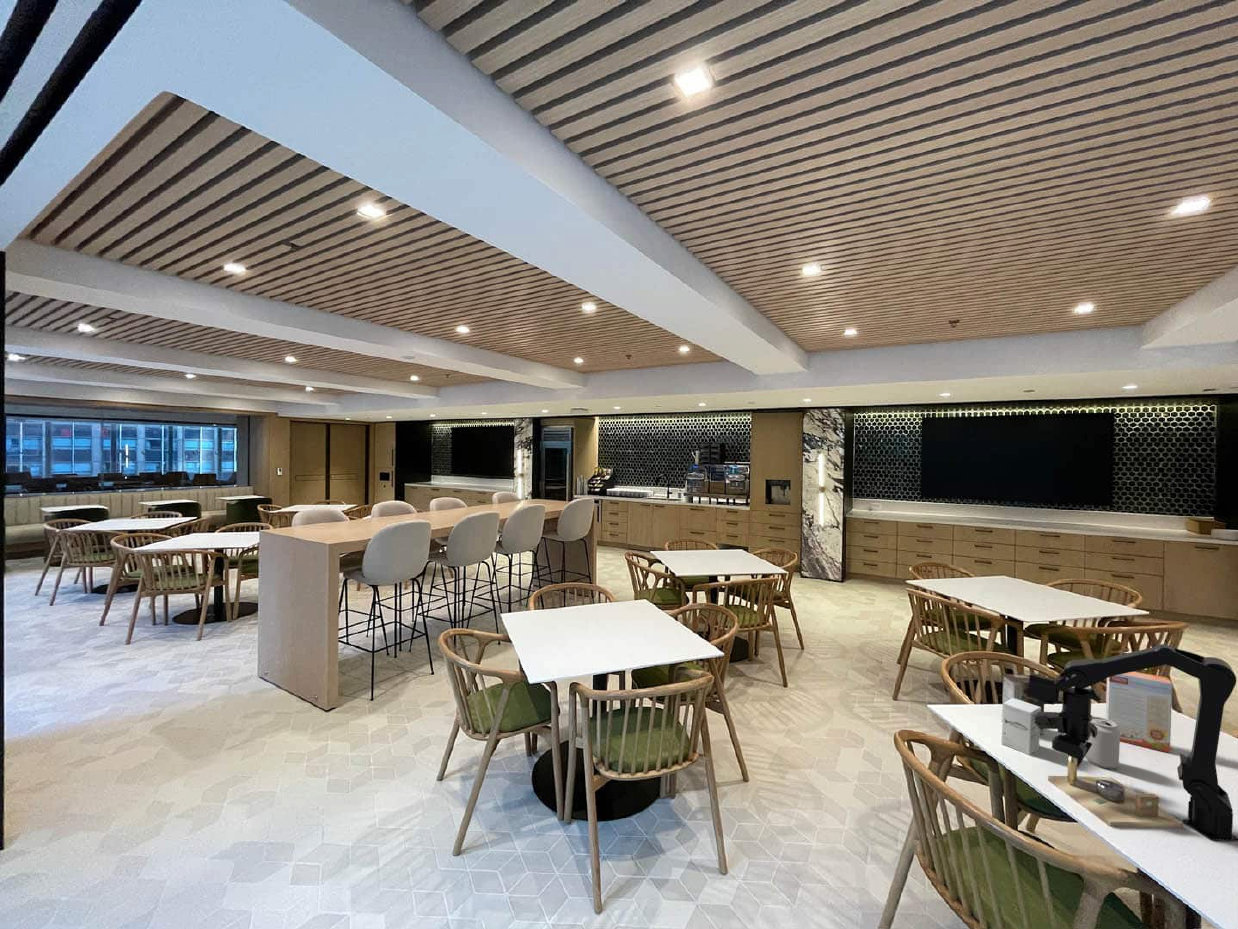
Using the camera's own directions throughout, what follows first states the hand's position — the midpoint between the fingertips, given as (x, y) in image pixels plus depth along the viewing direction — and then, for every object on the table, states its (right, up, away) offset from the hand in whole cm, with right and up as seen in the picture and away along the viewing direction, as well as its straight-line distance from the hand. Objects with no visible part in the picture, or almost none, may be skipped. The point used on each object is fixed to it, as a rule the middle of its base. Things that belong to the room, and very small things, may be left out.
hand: (1073, 768), depth 142 cm
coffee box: (+9, -4, +30) cm, 31 cm away
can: (+17, -5, +11) cm, 21 cm away
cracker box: (+39, -5, +23) cm, 45 cm away
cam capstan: (+1, -3, -5) cm, 6 cm away
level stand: (+3, -4, -7) cm, 9 cm away
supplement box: (0, -4, +19) cm, 19 cm away
